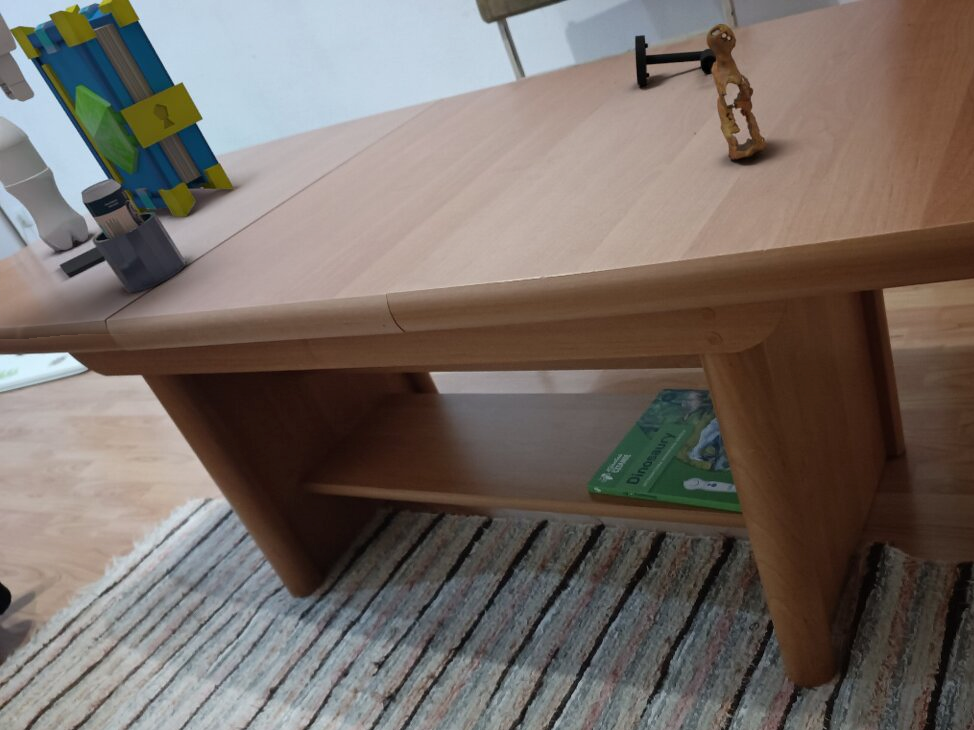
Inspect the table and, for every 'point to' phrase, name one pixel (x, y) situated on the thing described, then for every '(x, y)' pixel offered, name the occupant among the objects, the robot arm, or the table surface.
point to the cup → (141, 254)
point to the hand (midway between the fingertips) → (22, 98)
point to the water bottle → (37, 189)
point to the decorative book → (124, 104)
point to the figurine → (729, 73)
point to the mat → (82, 262)
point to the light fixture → (668, 59)
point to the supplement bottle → (111, 208)
